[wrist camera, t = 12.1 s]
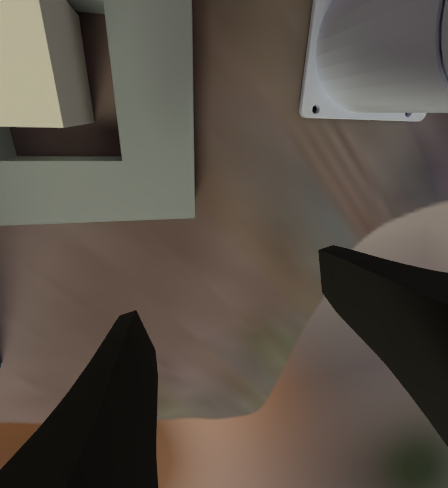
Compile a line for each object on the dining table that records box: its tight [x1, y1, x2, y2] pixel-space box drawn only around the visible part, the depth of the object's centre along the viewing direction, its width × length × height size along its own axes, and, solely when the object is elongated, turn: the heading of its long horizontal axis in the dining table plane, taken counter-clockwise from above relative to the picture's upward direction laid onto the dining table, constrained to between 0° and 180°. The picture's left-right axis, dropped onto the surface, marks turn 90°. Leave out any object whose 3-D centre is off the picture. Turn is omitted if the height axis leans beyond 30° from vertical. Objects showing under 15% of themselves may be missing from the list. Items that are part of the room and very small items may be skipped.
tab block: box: [0, 0, 95, 128], centre depth 12 cm, size 3×5×6 cm, turn 178°
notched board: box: [0, 0, 195, 226], centre depth 14 cm, size 14×14×2 cm
